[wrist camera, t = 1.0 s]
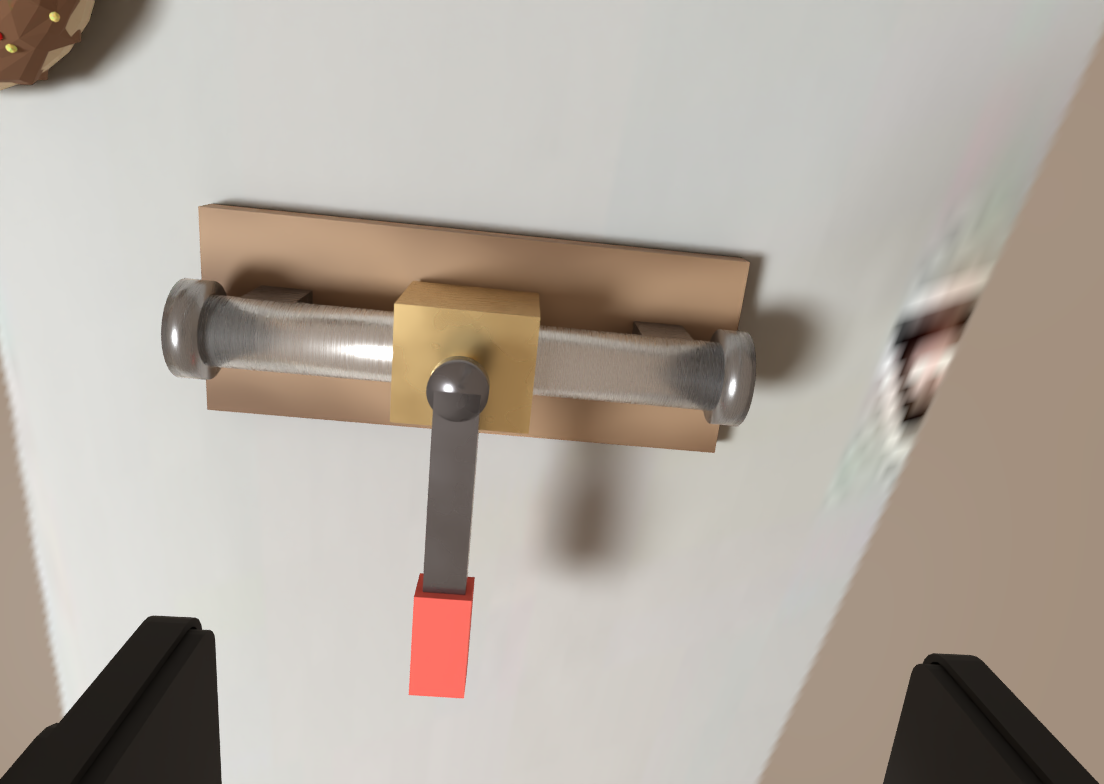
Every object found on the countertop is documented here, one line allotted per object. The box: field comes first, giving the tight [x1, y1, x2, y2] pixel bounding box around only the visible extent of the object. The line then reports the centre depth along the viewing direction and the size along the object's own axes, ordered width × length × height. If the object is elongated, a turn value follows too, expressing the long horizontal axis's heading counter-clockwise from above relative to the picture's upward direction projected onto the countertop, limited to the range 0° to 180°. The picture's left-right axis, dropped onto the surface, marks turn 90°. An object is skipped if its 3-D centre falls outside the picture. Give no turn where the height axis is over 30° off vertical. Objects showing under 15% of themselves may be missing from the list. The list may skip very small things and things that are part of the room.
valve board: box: [161, 204, 756, 453], centre depth 34 cm, size 10×26×9 cm, turn 84°
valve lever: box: [409, 356, 490, 698], centre depth 31 cm, size 15×2×2 cm, turn 174°
